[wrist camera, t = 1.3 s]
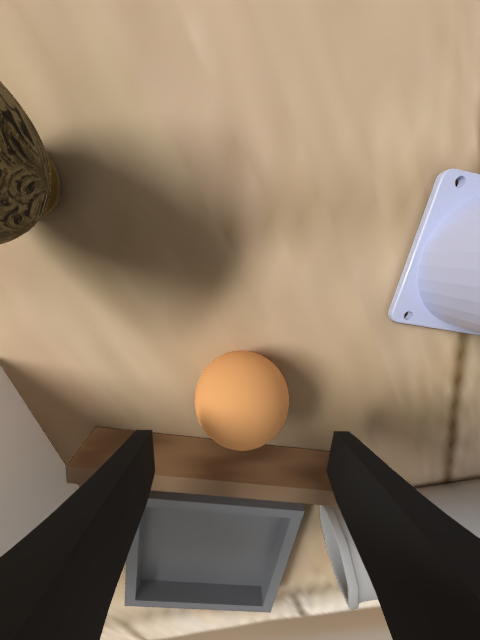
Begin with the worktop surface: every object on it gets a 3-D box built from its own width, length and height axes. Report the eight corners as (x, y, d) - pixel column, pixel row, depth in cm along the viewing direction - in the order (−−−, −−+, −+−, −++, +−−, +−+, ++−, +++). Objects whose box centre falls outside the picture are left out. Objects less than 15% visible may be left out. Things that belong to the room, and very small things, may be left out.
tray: (297, 485, 18) (304, 511, 16) (267, 582, 21) (270, 612, 19) (139, 471, 17) (128, 496, 15) (133, 575, 20) (124, 605, 18)
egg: (286, 343, 14) (313, 390, 10) (270, 410, 16) (287, 480, 11) (206, 332, 14) (192, 374, 9) (197, 401, 15) (181, 470, 10)
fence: (348, 453, 17) (371, 494, 14) (343, 465, 17) (365, 508, 14) (96, 427, 16) (65, 466, 13) (96, 441, 16) (66, 483, 13)
